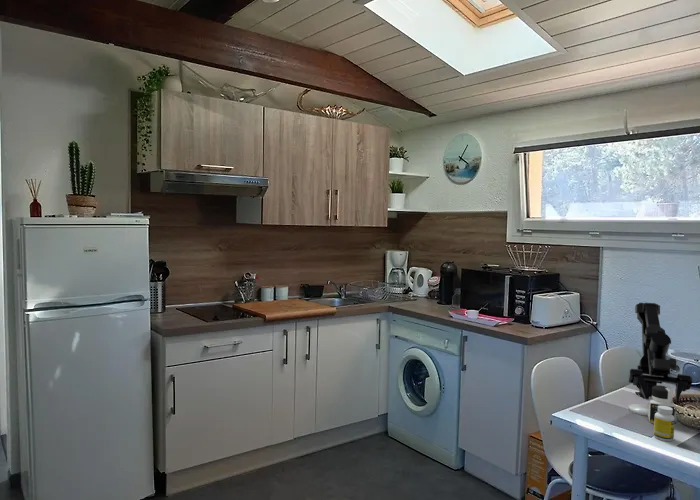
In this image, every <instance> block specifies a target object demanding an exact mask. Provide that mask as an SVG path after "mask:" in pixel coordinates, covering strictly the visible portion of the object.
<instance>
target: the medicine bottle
mask: <svg viewBox="0 0 700 500" xmlns="http://www.w3.org/2000/svg"><path fill="white" fill-rule="evenodd" d="M673 393H674V391H673V389H672V388H670V387H668V386H665V385H661V384H660V385H656V386H653V387H652V397H649V398H648V405H647V406H648V416H647V417H648V421H649V423H650V424H654V419H655V413H657V412H658V406H668V407H671V408H672V409H673V413H672V415H673V416H674V418H676V417H675V416H676V408H675V409H674V405H675V403H674V401H673V395H674V394H673Z"/></svg>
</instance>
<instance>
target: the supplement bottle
mask: <svg viewBox="0 0 700 500" xmlns="http://www.w3.org/2000/svg"><path fill="white" fill-rule="evenodd" d="M672 413H673V409H672V408H671V407H668V406H658V412H657V413H655V419H654V423H653V437H654V439H657V440H660V441H663V442H672V441H674V435H675V420H676V419H675V418H676V417H675V418H674V416H673V415H672Z"/></svg>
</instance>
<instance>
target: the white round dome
mask: <svg viewBox="0 0 700 500" xmlns="http://www.w3.org/2000/svg"><path fill="white" fill-rule="evenodd" d="M648 406H649V405H646V404H640V403H632V404H628V411H629V412H631V413H632V414H633V413H634V414H635V415H638V416H639V415H640V416H644V417H648Z"/></svg>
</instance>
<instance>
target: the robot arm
mask: <svg viewBox="0 0 700 500" xmlns="http://www.w3.org/2000/svg"><path fill="white" fill-rule="evenodd" d="M634 307H635V308H634V311H635V314H636V318H637V320H638V321H639V322H640V324H641V340H642V341H641V342H642V344H641V345H642V346H641V347H642V357H641V358H640V359H639V362H638V365H637V366H636V368H630V369H629V372H628V376H627V377H628V380H627V381H628V383H630V384H632V385H633V386H636V388H637V389H638V390H639V391H635V392H634V393H635V394H636V395H637V396H639V397H641V398H642V399H644V400H648V399H649V397H652V387H653V386H656V385H657V384H660V385H661V384H663V383H666V384H667V383H669V384H675V390H674V391H675V393H674V394H675V403H676V404H679V400H680V398H681V394H682V392H686V391H688V390H690V389H691V388H692V384H693V377H692V376H691V375H690V374H681V373H678V374H677V376H676V377H673V376H669V375H670V374H671V370H676V368H677V367H678V366H677V359H676V358H669V359H667V353H668V351H669V348H670V344H672V339H671V338H670V336H669V335H668V334H666V333H667V332H666V331H665V329H664V328H663V327H661V324H660V319H659V316H660V315H661V305H660V304H658V303H655V302H639V303H637V304H635V306H634Z"/></svg>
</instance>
